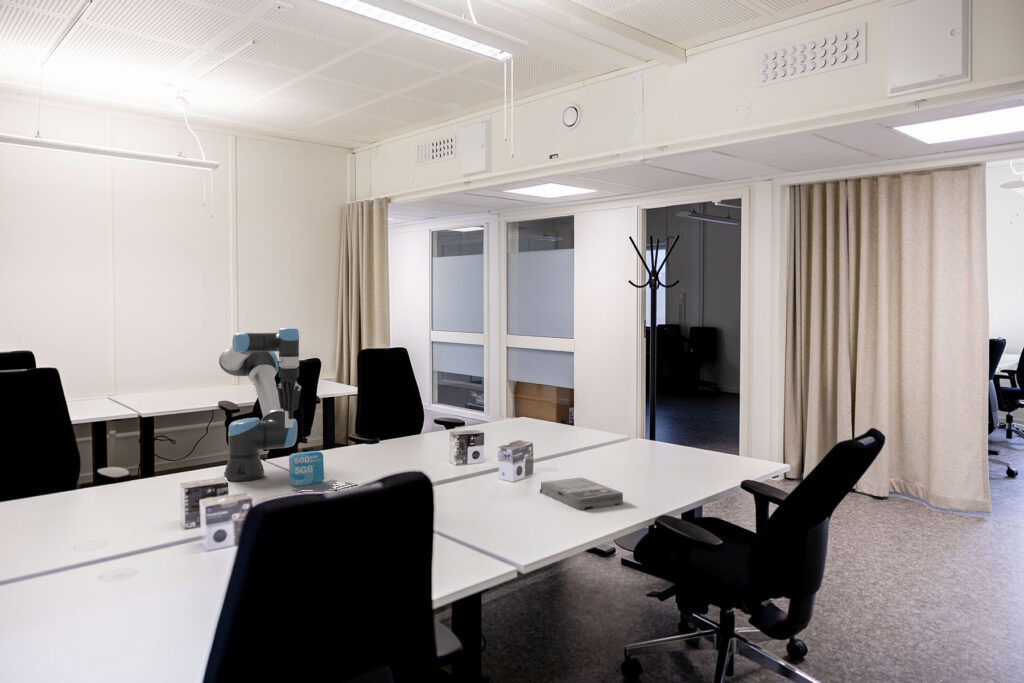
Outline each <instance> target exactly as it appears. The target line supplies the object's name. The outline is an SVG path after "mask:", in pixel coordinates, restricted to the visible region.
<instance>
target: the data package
mask: <svg viewBox="0 0 1024 683" xmlns="http://www.w3.org/2000/svg"><path fill="white" fill-rule="evenodd" d="M288 462H289V464H288V465H289V482H290V484H291V485H292V486H295V487H304V486H308V485H312V484H316V483H321V482H324V480H325V470H324V469H325V468H324V454H323V452H321V451H318V450H311V451H310V450H309V451H303V452H296V453H295V452H294V453H291V454H290V455H289V457H288Z"/></svg>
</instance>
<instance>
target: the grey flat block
mask: <svg viewBox="0 0 1024 683" xmlns="http://www.w3.org/2000/svg"><path fill="white" fill-rule="evenodd" d="M539 493H540V494H542V495H544V496H547V497H548V498H551V499H553V500H554V501H558V502H559V503H562V504H564V505H566V506H568V507H571V508H573V509H575V510H577V511H588V510H594V509H601V508H606V507H607V508H609V507H615V506H616V507H617V506H622V505H623V504H624V502H623V498H624V494H623V492H622V491H620V490H617V489H614V488H611V487H608V486H605V485H603V484H601V483H598V482H596V481H592V480H590V479H587V478H585V477H572V478H564V479H557V480H546V481H540V489H539Z"/></svg>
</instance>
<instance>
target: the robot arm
mask: <svg viewBox="0 0 1024 683" xmlns="http://www.w3.org/2000/svg"><path fill="white" fill-rule="evenodd" d="M299 334H300V332H299V329H298V328H296V327H295V328H293V327H291V328H290V327H289V328H288V327H282V328H279V329H278V332H244V331H243V332H235V333H234V334H233V335H232V340H231V341H232V342H231V343H232V346H231V347H230V348H229V349H226V350H224V351H222V353H221V354H220V355H219V359H218V364H219V367H220V368H221V369H222V371H223V372H225V373H227V374H229V375H231V376H234V377H248V379H249V380H250V381H251V383H254V387H255V391H256V395H257V398H258V402H259V405H260V410H261V413H262V418H261V419H260V418H259V417H247V418H242V419H237V420H234V421H232V422H231V423H230V424H229V425H228V434H227V436H228V460H227V463H226V466H225V469H224V471H223V472H224V473H223V478H224V477H226V478H227V479H228V480H229V482H248V481H255V480H259V479H258V478H260V479H262V478H264V477H265V469H264V465H263V463H262V460H261V457H260V456H261V455H260V451H263V450H272V449H273V450H274V449H286V448H290V447H293V446H294V445H295V444H296V442H297V437H298V420H296V418H294V416H295V414H294V412H295V410H298V409H299V403H300V398H301V391H302V389H303V385H300V384H299V382H298V378H299V377H300V369H299V367H300V335H299ZM276 352H278V356H277V354H276ZM277 374H278V377H279V378H280V381H279V383H278V384H277V382H276V380H275V377H276V375H277ZM263 476H264V477H263ZM261 477H262V478H261ZM254 479H255V480H254ZM228 480H227V481H228Z"/></svg>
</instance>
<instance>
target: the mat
mask: <svg viewBox="0 0 1024 683" xmlns="http://www.w3.org/2000/svg"><path fill="white" fill-rule="evenodd" d="M337 481H339V482H340V481H342V482H345V484H346V485H343V486H339V485H335V486H339V487H336V489H335V490H339V489H337V488H340V487H344V486H347V485H351V486H348V487H350V488H353V487H357V486H359V483H354V482H349V481H343V480H337V479H329V480H325V481H324V480H323V482H321V483H316V484H309V485H303V486H299V487H298V488H292V489H291V492H295V491H300V492H299V494H303V493H302V492H325V491H335V490H329V489H334V488H332V487H334V485H333V484H337V483H336V482H337ZM352 484H354V485H352ZM356 485H357V486H356ZM352 486H353V487H352ZM348 487H344V488H346V489H349V488H348ZM341 489H342V490H344V489H343V488H341ZM301 490H313V491H301ZM339 491H340V490H339ZM335 492H336V491H335Z"/></svg>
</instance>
